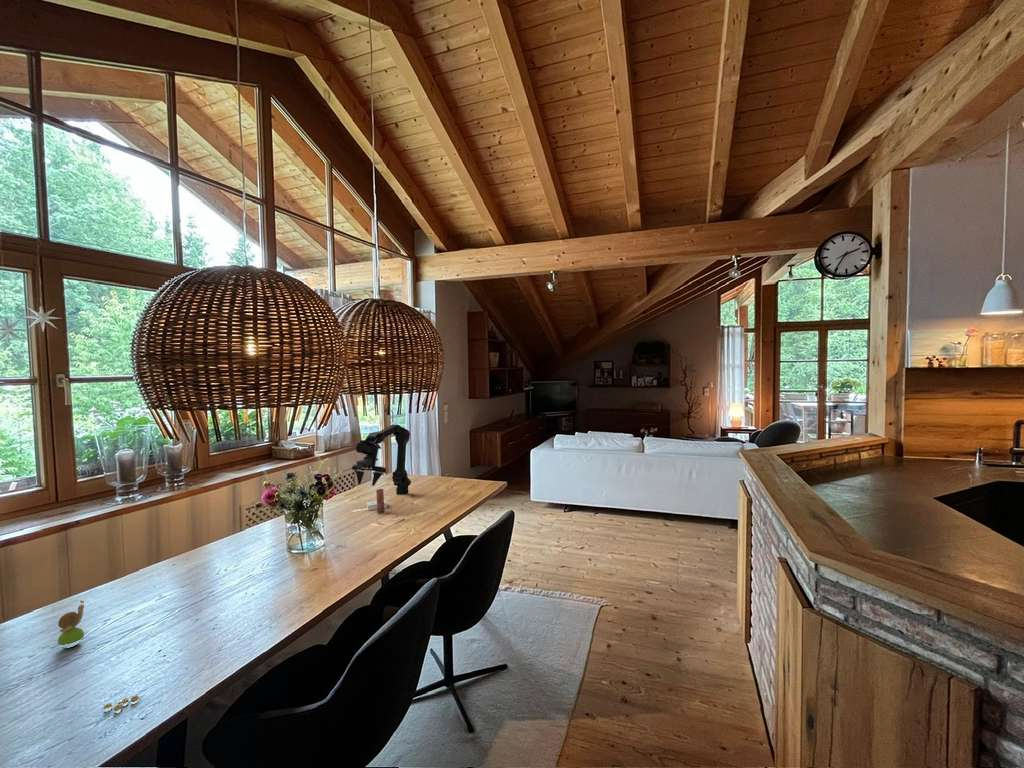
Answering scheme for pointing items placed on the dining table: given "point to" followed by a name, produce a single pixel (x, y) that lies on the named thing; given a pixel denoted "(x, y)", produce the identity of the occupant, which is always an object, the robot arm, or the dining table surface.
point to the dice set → (122, 702)
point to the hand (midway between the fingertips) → (365, 485)
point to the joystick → (380, 501)
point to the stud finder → (374, 505)
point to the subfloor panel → (358, 510)
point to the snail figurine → (71, 627)
